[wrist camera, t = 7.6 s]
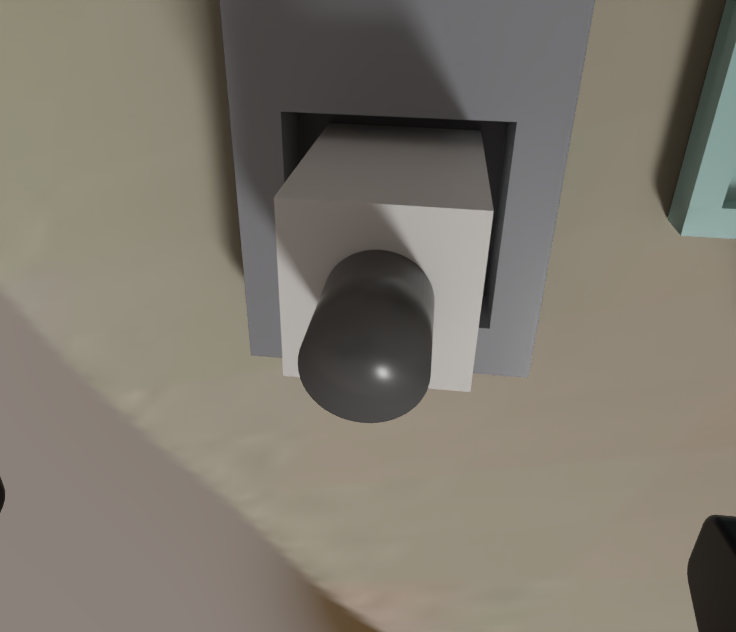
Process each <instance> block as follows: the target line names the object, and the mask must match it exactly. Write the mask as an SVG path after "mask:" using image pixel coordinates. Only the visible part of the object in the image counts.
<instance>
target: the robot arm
mask: <svg viewBox="0 0 736 632" xmlns="http://www.w3.org/2000/svg"><path fill="white" fill-rule="evenodd" d="M4 501H5V489H4V485H3V483H2V480H1V478H0V512H1V509H2V507H3V504H4ZM687 575H688V583H689V588H690V593H691V598H692V602H693V607H694V612H695V617H696V622H697V627H698V631H699V632H736V517H734V516H724V515H711V516H709V517H708V518H707V519H706V520H705V522H704V523H703V526H702V528H701V531H700V533H699V536H698V538H697V541H696V543H695V546H694V548H693V551H692V553H691V556H690V558H689V561H688V568H687Z"/></svg>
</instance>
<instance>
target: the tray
mask: <svg viewBox="0 0 736 632" xmlns="http://www.w3.org/2000/svg"><path fill="white" fill-rule="evenodd" d="M668 221H669V222H670V223H671V224H672V225H673V227H674V228H675V229H676V230H677V232H678V233H679V234H680V235H681V236H696V237H713V238H730V239H736V0H726V4H725V7H724V11H723V15H722V18H721V22H720V26H719V29H718V33H717V37H716V41H715V44H714V48H713V52H712V55H711V59H710V63H709V67H708V70H707V74H706V78H705V81H704V85H703V89H702V93H701V96H700V100H699V104H698V107H697V111H696V115H695V119H694V122H693V126H692V130H691V133H690V137H689V141H688V145H687V148H686V152H685V156H684V159H683V163H682V167H681V170H680V174H679V178H678V182H677V185H676V189H675V193H674V196H673V200H672V204H671V208H670V211H669V215H668Z"/></svg>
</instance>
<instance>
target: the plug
mask: <svg viewBox="0 0 736 632" xmlns="http://www.w3.org/2000/svg"><path fill="white" fill-rule="evenodd" d="M274 210H275V229H276V247H277V266H278V285H279V304H280V323H281V341H282V360H283V376H294V377H300V379H301V381H302V384H303V386H304V387H305V389H306V391H307V392H308V394H309V395H310V396H311V397H312V399H313V400H314V401H315V402H316V403H317V404H319V405H320V406H321V407H322V408H324V409H325V410H327V411H328V412H330V413H332V414H334V415H336V416H338V417H341V418H344V419H346V420H350V421H354V422H361V423H379V422H385V421H389V420H392V419H395V418H398V417H400V416H402V415H404V414H406V413H407V412H409V411H410V410H412V409H413V408H414V407H415V406H416V405H417V404H418V403H419V402H420V401H421V400H422V398H423V397H424V395H425V393H426V391H427V389H428V388H430V389H441V390H452V391H464V392H470V390H471V383H472V375H473V367H474V359H475V352H476V344H477V336H478V328H479V321H480V313H481V305H482V297H483V290H484V282H485V274H486V266H487V259H488V251H489V243H490V236H491V228H492V220H493V212H494V210H493V204H492V197H491V191H490V185H489V179H488V172H487V166H486V160H485V153H484V147H483V141H482V135H481V131H477V130H458V129H438V128H419V127H399V126H380V125H361V124H341V123H329V124H328V125H327V127H326V128H325V129H324V131H323V132H322V133H321V135H320V136H319V137H318V139H317V140H316V141H315V143H314V144H313V145H312V147H311V148H310V149H309V151H308V152H307V153H306V155H305V156H304V157H303V159H302V160H301V161H300V163H299V164H298V165H297V167H296V168H295V170H294V171H293V172H292V174H291V175H290V176H289V178H288V179H287V180H286V182H285V183H284V184H283V186H282V187H281V188H280V190H279V191H278V192H277V194H276V195H275V196H274Z"/></svg>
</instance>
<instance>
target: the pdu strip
mask: <svg viewBox="0 0 736 632" xmlns="http://www.w3.org/2000/svg"><path fill="white" fill-rule="evenodd" d="M219 1H220V12H221V23H222V35H223V46H224V57H225V68H226V79H227V91H228V102H229V113H230V124H231V136H232V147H233V158H234V169H235V181H236V192H237V203H238V214H239V225H240V237H241V248H242V259H243V270H244V282H245V293H246V304H247V315H248V327H249V338H250V349H251V355H253V356H266V357H278V358H282V341H281V323H280V304H279V285H278V266H277V247H276V229H275V210H274V196H275V195H276V194H277V192H278V191H279V190H280V188H281V187H282V186H283V184H284V183H285V182H286V180H287V179H288V178H289V176H290V175H291V174H292V172H293V171H294V170H295V168H296V167H297V165H298V164H299V163H300V161H301V160H302V159H303V157H304V156H305V155H306V153H307V152H308V151H309V149H310V148H311V147H312V145H313V144H314V143H315V141H316V140H317V139H318V137H319V136H320V135H321V133H322V132H323V131H324V129H325V128H326V127H327V125H328V124H329V123H341V124H361V125H380V126H399V127H419V128H438V129H458V130H477V131H481V135H482V141H483V147H484V153H485V160H486V166H487V172H488V179H489V185H490V191H491V197H492V204H493V210H494V212H493V220H492V228H491V236H490V243H489V251H488V259H487V266H486V274H485V282H484V290H483V297H482V305H481V313H480V321H479V328H478V336H477V344H476V352H475V359H474V367H473V373H475V374H487V375H500V376H512V377H524V378H528V377H529V371H530V366H531V360H532V355H533V349H534V343H535V338H536V332H537V326H538V321H539V315H540V309H541V304H542V298H543V292H544V287H545V281H546V275H547V270H548V264H549V258H550V253H551V247H552V241H553V236H554V230H555V224H556V219H557V213H558V207H559V202H560V196H561V190H562V185H563V179H564V173H565V168H566V162H567V156H568V151H569V145H570V139H571V134H572V128H573V122H574V117H575V111H576V105H577V100H578V94H579V88H580V83H581V77H582V71H583V66H584V60H585V54H586V49H587V43H588V37H589V32H590V26H591V20H592V15H593V9H594V3H595V0H219Z"/></svg>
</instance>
